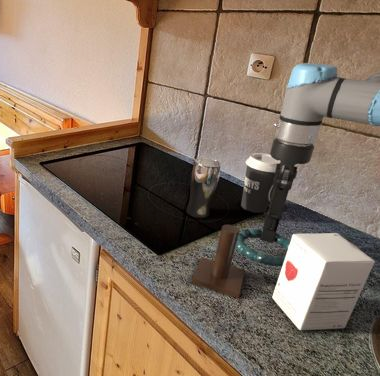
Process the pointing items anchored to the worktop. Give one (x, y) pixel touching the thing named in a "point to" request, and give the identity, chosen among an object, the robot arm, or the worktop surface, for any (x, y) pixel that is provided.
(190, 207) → the beer glass
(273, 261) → the ring
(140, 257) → the worktop surface
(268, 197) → the coffee cup
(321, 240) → the rectangular carton
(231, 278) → the post
